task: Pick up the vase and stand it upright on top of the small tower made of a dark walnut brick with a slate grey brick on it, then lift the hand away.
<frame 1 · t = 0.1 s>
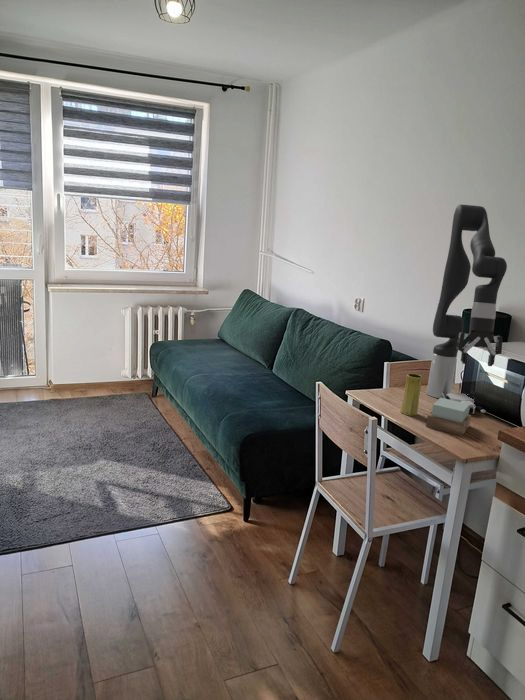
hand: (476, 365, 186), 22 cm above the table, tool pointing down, fingers open, 8 cm apart
bottom brick: (447, 426, 191), on the table
vase: (408, 413, 201), on the table
top brick: (449, 415, 190), point 4 cm above the table, touching bottom brick
robot toy: (462, 410, 211), on the table
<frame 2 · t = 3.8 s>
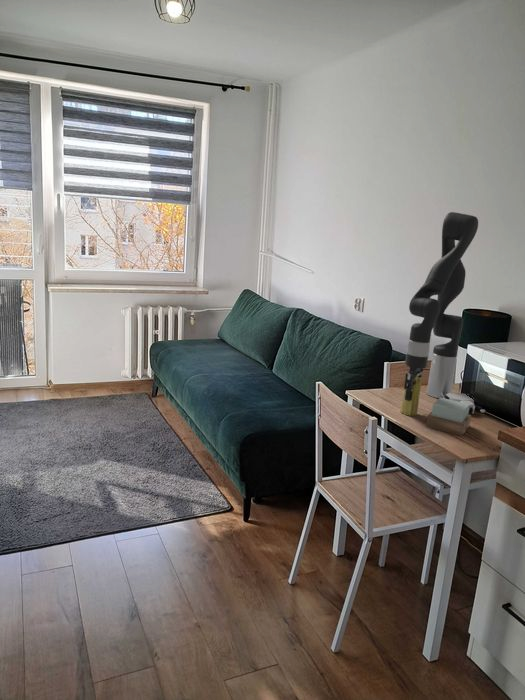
hand: (410, 398, 200), 6 cm above the table, tool pointing down, fingers open, 6 cm apart
vase: (408, 413, 201), on the table, touching gripper
everything else where it was.
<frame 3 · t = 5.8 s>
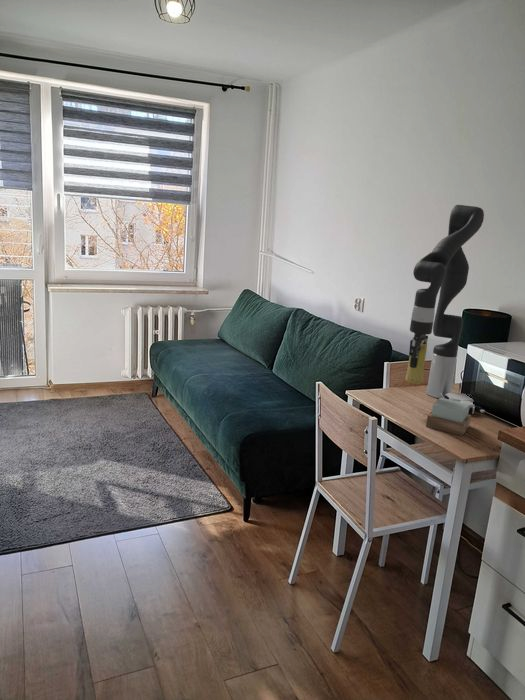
hand: (415, 365, 198), 18 cm above the table, tool pointing down, fingers closed on vase, 5 cm apart
vase: (413, 381, 199), point 12 cm above the table, touching gripper
everything else where it was.
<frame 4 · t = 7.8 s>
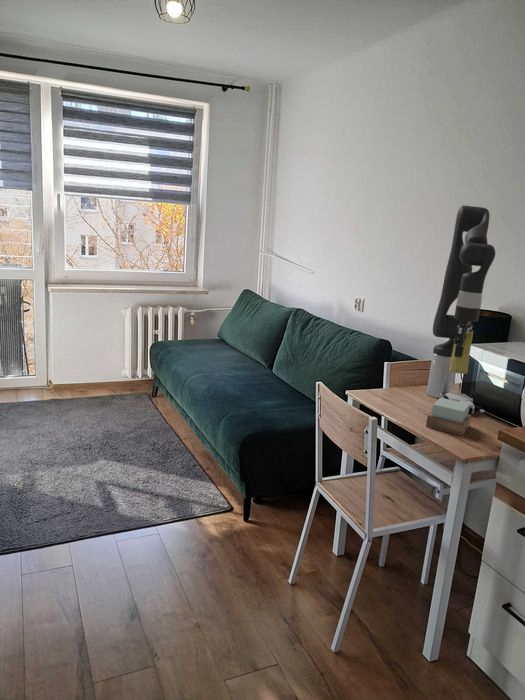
hand: (459, 355, 185), 25 cm above the table, tool pointing down, fingers closed on vase, 5 cm apart
vase: (457, 371, 186), point 20 cm above the table, touching gripper
everything else where it was.
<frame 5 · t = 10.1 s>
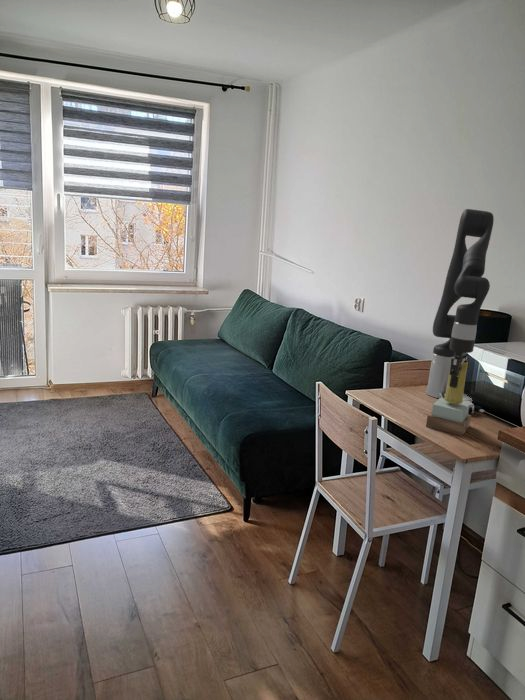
hand: (454, 385, 188), 15 cm above the table, tool pointing down, fingers closed on vase, 5 cm apart
vase: (453, 401, 189), point 9 cm above the table, touching gripper
everything else where it was.
when the fingers open (14 cm above the table, at t = 11.8 s): vase stays where it is, resting on top brick.
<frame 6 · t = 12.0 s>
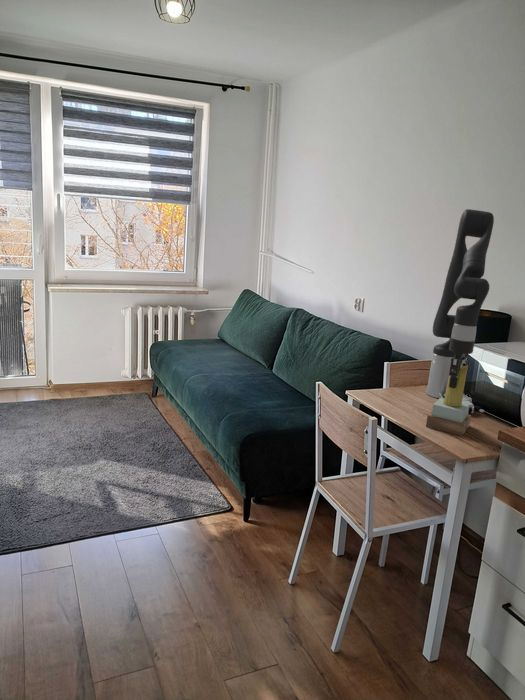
hand: (454, 385, 188), 15 cm above the table, tool pointing down, fingers open, 7 cm apart
vase: (452, 404, 189), point 8 cm above the table, touching top brick
top brick: (449, 415, 190), point 4 cm above the table, touching bottom brick, vase
everything else where it was.
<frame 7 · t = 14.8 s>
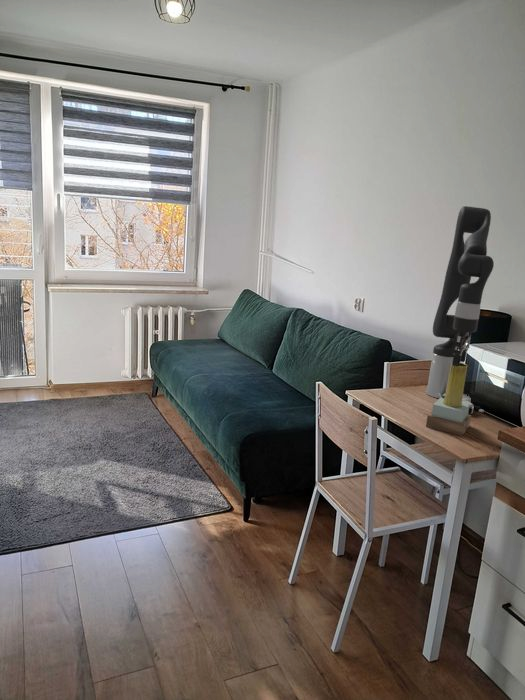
hand: (458, 363, 186), 22 cm above the table, tool pointing down, fingers open, 8 cm apart
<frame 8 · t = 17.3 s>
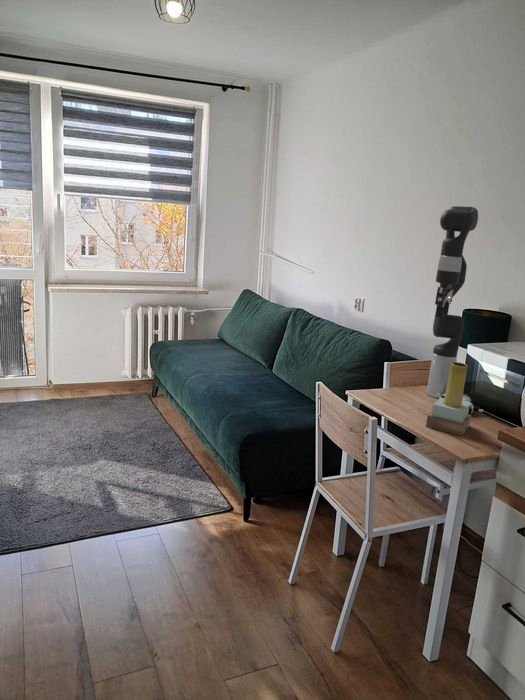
hand: (441, 315, 195), 36 cm above the table, tool pointing down, fingers open, 8 cm apart
at the end: vase 0.2 cm off-centre on the top brick, point 3.8 cm above the top brick's base; vase tilted 0°; top brick 0.0 cm from the bottom brick (horizontally) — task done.
